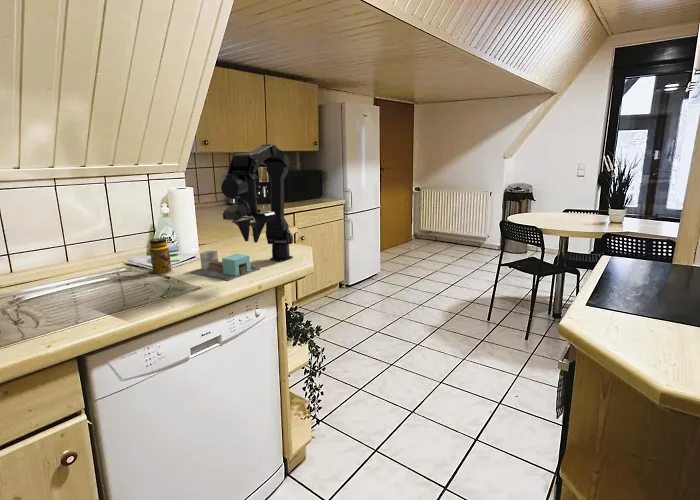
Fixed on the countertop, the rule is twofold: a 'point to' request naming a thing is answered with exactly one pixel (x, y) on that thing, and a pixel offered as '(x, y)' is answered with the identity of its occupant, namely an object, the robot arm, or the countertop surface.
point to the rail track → (217, 267)
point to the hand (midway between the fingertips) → (251, 241)
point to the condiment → (159, 257)
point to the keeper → (235, 264)
